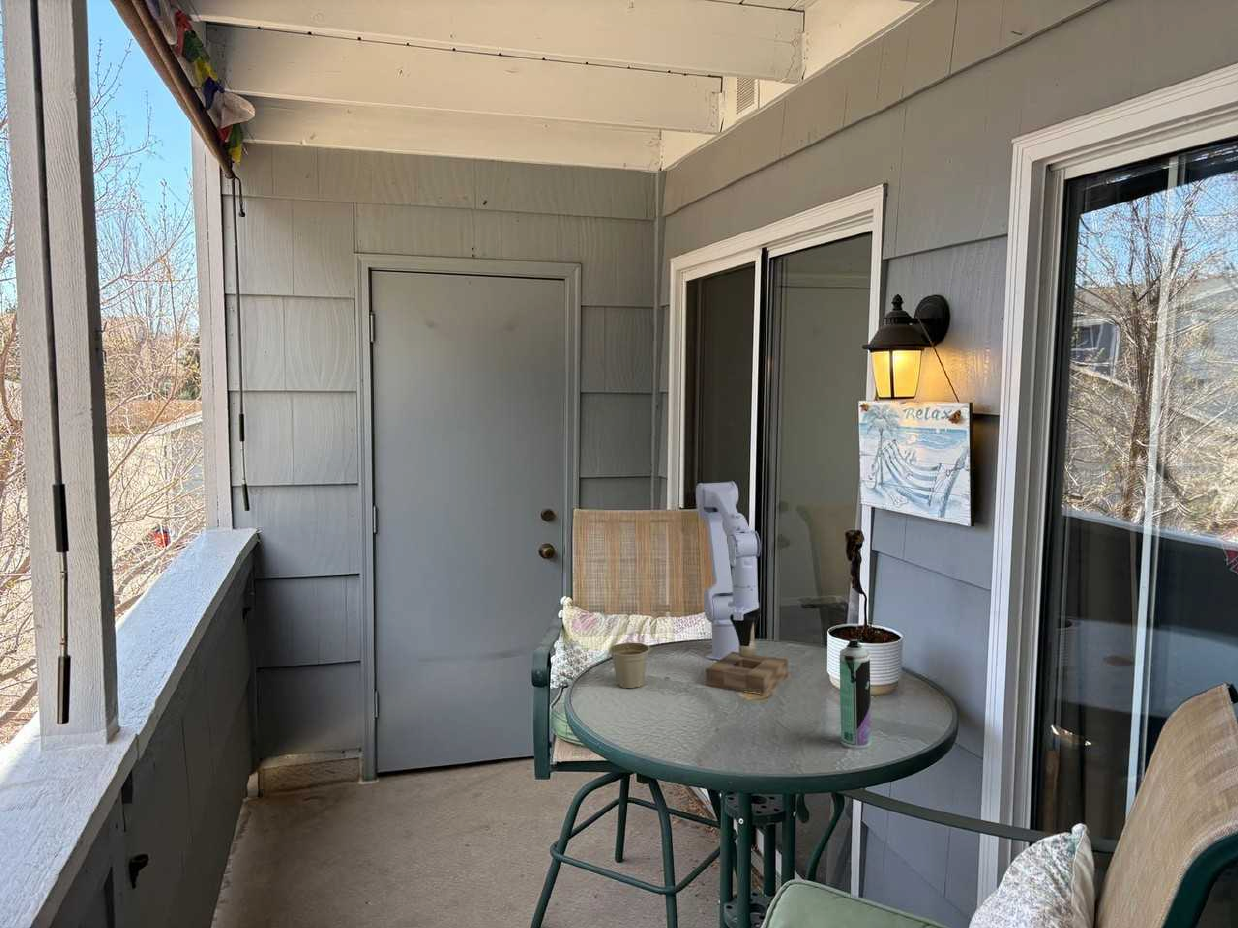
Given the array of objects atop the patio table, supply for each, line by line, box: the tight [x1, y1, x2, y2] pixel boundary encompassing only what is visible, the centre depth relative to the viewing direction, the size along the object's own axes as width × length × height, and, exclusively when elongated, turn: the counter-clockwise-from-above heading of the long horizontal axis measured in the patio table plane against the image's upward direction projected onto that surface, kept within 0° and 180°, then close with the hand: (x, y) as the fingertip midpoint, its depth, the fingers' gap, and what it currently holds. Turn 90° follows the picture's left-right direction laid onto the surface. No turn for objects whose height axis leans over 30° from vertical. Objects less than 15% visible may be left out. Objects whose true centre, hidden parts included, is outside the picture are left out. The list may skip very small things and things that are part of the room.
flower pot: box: [608, 641, 651, 689], centre depth 195 cm, size 9×9×9 cm
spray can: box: [839, 638, 872, 750], centre depth 158 cm, size 6×6×20 cm
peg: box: [738, 623, 756, 658], centre depth 194 cm, size 4×4×8 cm
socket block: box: [705, 652, 789, 694], centre depth 195 cm, size 14×14×4 cm
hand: (746, 642), depth 194 cm, fingers closed on peg, 4 cm apart
